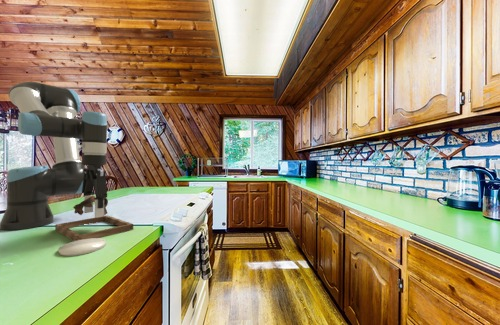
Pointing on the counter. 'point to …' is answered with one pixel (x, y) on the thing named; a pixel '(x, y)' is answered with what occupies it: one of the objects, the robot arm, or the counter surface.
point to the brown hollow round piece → (88, 205)
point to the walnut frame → (75, 236)
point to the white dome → (82, 247)
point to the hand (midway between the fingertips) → (93, 214)
